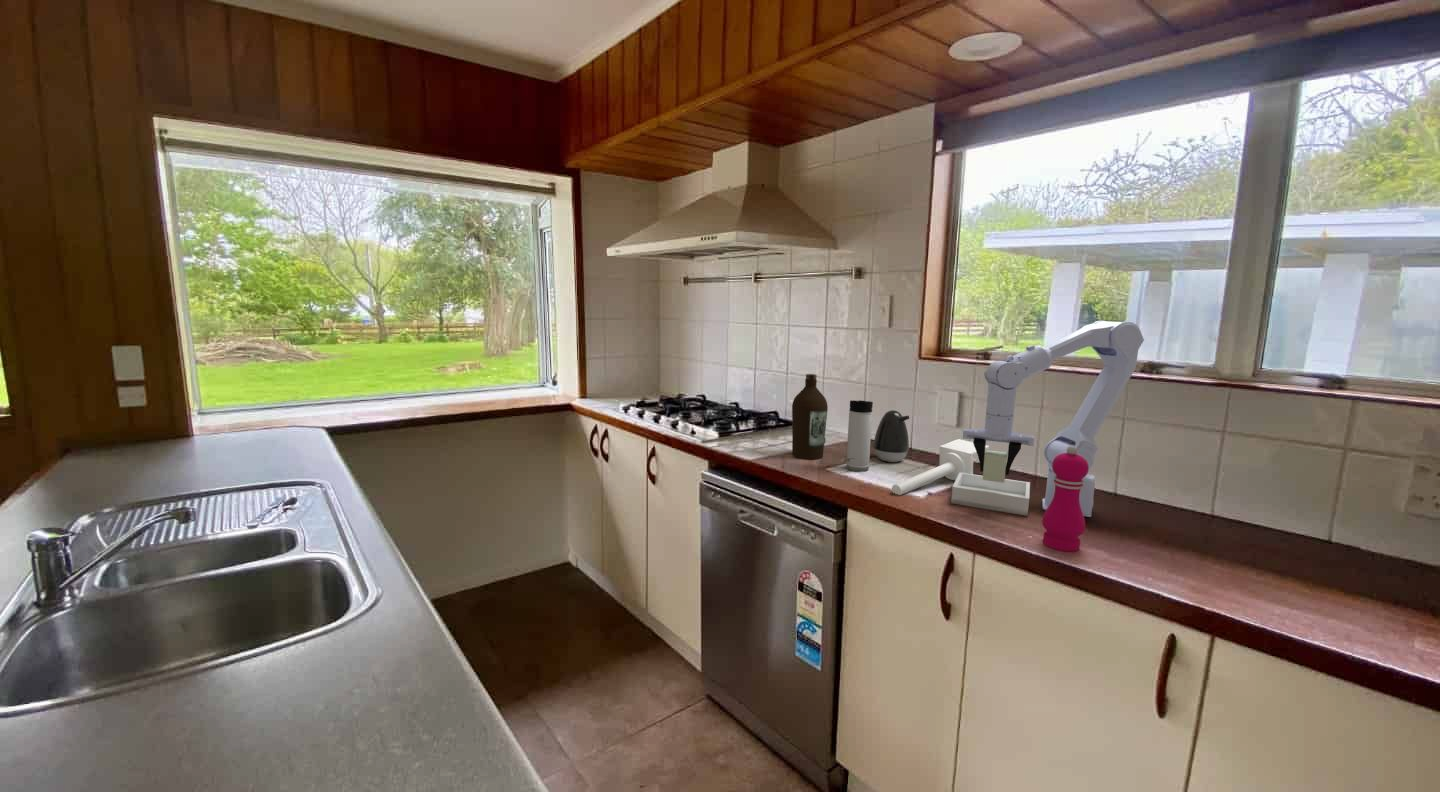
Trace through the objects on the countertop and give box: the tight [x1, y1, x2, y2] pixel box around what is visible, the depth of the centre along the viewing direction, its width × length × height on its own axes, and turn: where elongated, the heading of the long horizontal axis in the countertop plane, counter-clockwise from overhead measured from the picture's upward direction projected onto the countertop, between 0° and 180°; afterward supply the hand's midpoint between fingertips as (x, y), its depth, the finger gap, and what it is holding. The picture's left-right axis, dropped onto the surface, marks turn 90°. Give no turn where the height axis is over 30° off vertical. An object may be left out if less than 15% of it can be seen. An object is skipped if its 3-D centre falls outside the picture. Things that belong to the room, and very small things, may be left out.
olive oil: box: [791, 373, 829, 460], centre depth 176 cm, size 11×11×25 cm
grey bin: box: [950, 472, 1031, 517], centre depth 139 cm, size 16×14×4 cm
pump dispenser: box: [873, 409, 910, 463], centre depth 173 cm, size 10×10×15 cm
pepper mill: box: [1041, 446, 1090, 553], centre depth 112 cm, size 7×7×20 cm
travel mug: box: [845, 399, 874, 473], centre depth 163 cm, size 6×7×20 cm
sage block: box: [982, 449, 1008, 483], centre depth 133 cm, size 4×4×6 cm
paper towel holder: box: [891, 438, 990, 496], centre depth 151 cm, size 9×9×32 cm
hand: (994, 472), depth 134 cm, fingers closed on sage block, 4 cm apart
